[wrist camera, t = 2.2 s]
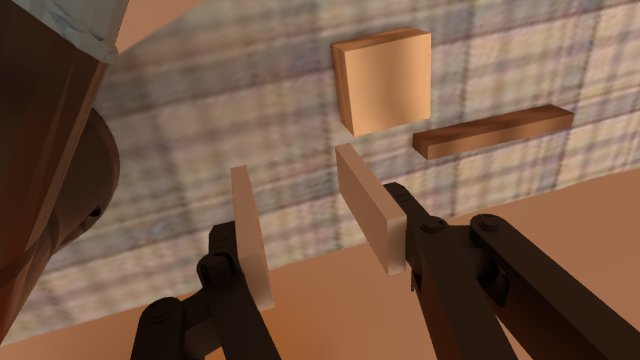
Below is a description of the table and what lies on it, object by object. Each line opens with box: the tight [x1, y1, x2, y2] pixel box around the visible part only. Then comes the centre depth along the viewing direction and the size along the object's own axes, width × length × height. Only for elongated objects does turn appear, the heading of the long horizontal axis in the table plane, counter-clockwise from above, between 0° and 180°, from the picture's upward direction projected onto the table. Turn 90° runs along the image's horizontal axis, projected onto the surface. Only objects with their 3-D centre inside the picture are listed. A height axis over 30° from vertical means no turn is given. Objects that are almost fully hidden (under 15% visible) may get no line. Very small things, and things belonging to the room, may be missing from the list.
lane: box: [413, 104, 575, 160], centre depth 33 cm, size 16×16×3 cm
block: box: [331, 27, 431, 137], centre depth 31 cm, size 7×7×4 cm
